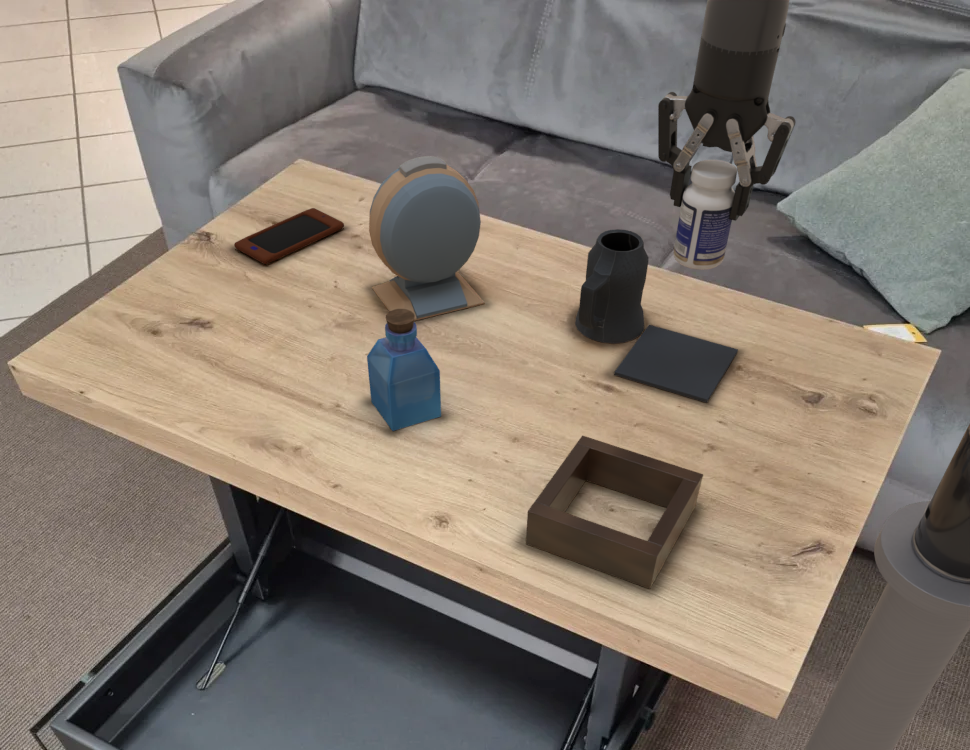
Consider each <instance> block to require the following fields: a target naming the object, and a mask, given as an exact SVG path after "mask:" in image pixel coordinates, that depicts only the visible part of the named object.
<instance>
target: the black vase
mask: <svg viewBox="0 0 970 750" xmlns="http://www.w3.org/2000/svg"><path fill="white" fill-rule="evenodd" d="M649 258H650V257H649V255H648V253H647V252H646V249H645V242H644V240H643V238H642V236H641V235H639V234H638V233H636V232H634V231H632V230H628V229H622V228H621V229H620V228H614V229H609V230H605V231H603V232H601V233H600V234H599V235H598V236H597V238H596V240H595V244H594V245H593V246H592V247H591V249H590V250H588V252H587V261H586V268H585V269H586V271H585V281H584V282H583V283H582V285H581V287H580V293H579V294H580V295H579V306H578V310H577V313H576V315H575V319H574V324H575V327H576V330H577V331H578V332H579V333H580V334H581V335H582V336H584V337H586V338H588V339H590V340H592V341H595V342H599V343H603V344H624V343H628V342H631V341H634V340H636V339H637V338H639V337H640V336H641V335H642V334H643V332H644V331H645V314H644V309H643V305H642V299H643V293H644V288H645V285H646V281H647V275H648V267H649V260H650V259H649Z"/></svg>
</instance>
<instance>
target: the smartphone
mask: <svg viewBox="0 0 970 750" xmlns="http://www.w3.org/2000/svg"><path fill="white" fill-rule="evenodd" d="M343 228H345V223H344V222H343V221H342V220H339V219H337V218H336V217H334V216H331V215H329V214H327V213H326V212H323V211H321V210H319V209H318V208H314V207H311V208H309V209H306V210H303V211H301V212H299V213H297V214H295V215H292V216H289V217H288V218H285V219H283V220H281V221H279V222H277V223H274V224H272V225H270V226H268V227H265V228H263V229H261V230H259V231H256V232H254V233H252V234H250V235H248V236H245V237H242V238H241V239H239V240H238V241H235V242H234V245H233V247H234V248H235V249H236V250H238V251H240V252H242V253H243V254H245V255H247V256H249V257H251V258H252V259H254V260H256V261H258V262H259V263H262V264H264V265H267V264H270V263H272V262H275V261H277V260H279V259H281V258H283V257H285V256H288V255H290V254H292V253H294V252H295V251H298V250H301V249H303V248H305V247H308V246H309V245H311V244H313V243H315V242H317V241H319V240H322V239H324V238H325V237H328V236H331V235H332V234H334V233H337V232H338V231H339V230H342V229H343Z"/></svg>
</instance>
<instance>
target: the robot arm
mask: <svg viewBox="0 0 970 750" xmlns="http://www.w3.org/2000/svg"><path fill="white" fill-rule="evenodd" d="M789 6H790V0H707V1H706V6H705V11H704V12H705V13H704V18H703V23H702V29H701V34H700V36H701V37H700V39H699V47H698V52H697V59H696V65H695V71H694V77H693V82H692V88H691V91H690V92H689V94H688V95H677V93H676V92H674V91H670V92H668V93H667V94H666V95H665V96H664V97H663V98H662V99H661V100H660V101H659V102H658V105H657V107H658V109H657V112H658V114H657V115H658V118H657V120H658V121H657V124H658V125H657V126H658V127H657V129H658V130H657V131H658V135H657V138H658V139H657V141H658V142H657V143H658V146H657V147H658V149H657V151H658V155H657V157H658V159H659V161H660V162H662V163H665V162H666V163H668V164H669V165H670V166H671V167H672V170H673V173H672V178H671V185H670V190H669V197H670V200H672V201H673V206H674V207H677V208H681V203H682V197H683V193H684V191H685V189H686V188H687V186H689V185H690V184H689V183H690V180H691V173H692V168H693V165H691V164H690V163H691V162H692V160H693V158H694V157H695V155H696V154H697V152H698V150H700V147H701V146H702V147H705V148H718V149H720V150H722V151H724V152H728V153H731V154H732V158H733V165H734V166H735V167H736V168H737V175H738V180H739V182H738V183H737V184H736V186H735V189H734V191H735V194H734V199H733V204H732V208H731V213H730V218H729V219H730V220H732V221H735V222H736V221H737V220H738V219H739V217H743V215H744V214H745V212H746V211H747V210H748V208H749V207H750V202H751V198H752V193H753V189H754V185H756V184H757V185H758V184H760V185H767V184H768V183H769V182H770V181H771V178H772V177H773V176H774V175H775V174H776V171H777V169H778V167H779V164H780V162H781V160H782V157H783V155H784V152H785V150H786V149H787V148H786V147H787V145H788V143H789V140H790V139H791V135H792V133H793V131H794V128H795V126H796V118H795V117H794V116H792V115H788V116H785V117H782V116H781V115H777V114H775V113H773V112H771V107H770V103H769V99H770V98H769V97H770V93H771V88H772V84H773V80H774V74H775V71H776V67H777V61H778V58H779V53H780V48H781V44H782V41H783V37H784V35H785V32H786V27H787V22H786V21H787V17H788V13H789ZM684 110H685V112H686V115H687V117H688V119H689V121H690V124H691V127H692V129H693V131H692V133H691V134H690V135H689V138H688V139H687V141H686V142H685V144H684V145H683V147H682V149H681V148H679V147H678V120H679V119H680V118H681V117H682V115H683V111H684ZM764 126H765V127H766V128H767V140H768V141H769V142H771V143H770V146H769V149H768V151H767V154H766V155H765V158H764V160H763V163H762V165H760V166H758V164H757V158H756V143H755V138H754V136H755V135H756V134H757V133H758V132H759V131H760V130H761V129H762V128H763V127H764ZM928 501H930V503H929V502H928V504H929V505H928V504H927V506H928V507H926V508H927V509H925V511H924V514H923V516H922V519H921V520H920V522H919V524H918V526H917V527H916V529H915V531H914V533H913V535H912V540H911V543H912V548H913V551H914V553H915V555H916V556H917V558H918V559H919V560H920V561H921V563H922V564H923V565H925V566H926V567H927V568H928V569H930V570H931V571H932V572H934V573H936V574H937V575H939V576H941V577H944V578H946V579H949V580H952V581H955V582H959V583H964V584H970V423H969V424H968V426H967V428H966V430H965V432H964V434H963V436H962V438H961V440H960V442H959V444H958V446H957V448H956V450H955V451H954V454H953V456H952V458H951V459H950V462H949V464H948V466H947V468H946V469H945V471H944V473H943V475H942V478H941V479H940V482H939V483H938V486H937V488H936V489H935V491H934V493H933V496H932V497H930V499H929V500H928Z"/></svg>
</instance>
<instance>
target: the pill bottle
mask: <svg viewBox="0 0 970 750" xmlns="http://www.w3.org/2000/svg"><path fill="white" fill-rule="evenodd" d="M737 175H738V171H737V166H736V165H735V164H733V163H730V162H728V161H726V160H721V159H704V160H703V159H702V160H699V161H697V162H696V163H694V164H693V165H692V167H691V173H690V181H691V183H690V184H688V186H687V188H686V189H685V191H684V193H683V197H682V203H681V207H680V210H679V216H678V222H677V227H676V234H675V240H674V246H673V258H674V261H676V262H677V264H679V265H681V266H682V267H685V268H688V269H692V270H700V271H703V270H704V271H705V270H706V271H707V270H711V269H714V268H717V267H718V266H720V265H721V264H722V263H723V261H724V260H725V256H726V252H727V251H726V250H727V245H728V240H729V237H730V236H729V235H730V232H731V228H732V227H731V226H732V222H733V220H730V219H729V218H730V213H731V208H732V204H733V199H734V194H735V189H733V186H734V185H735V183H736V182H737Z"/></svg>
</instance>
